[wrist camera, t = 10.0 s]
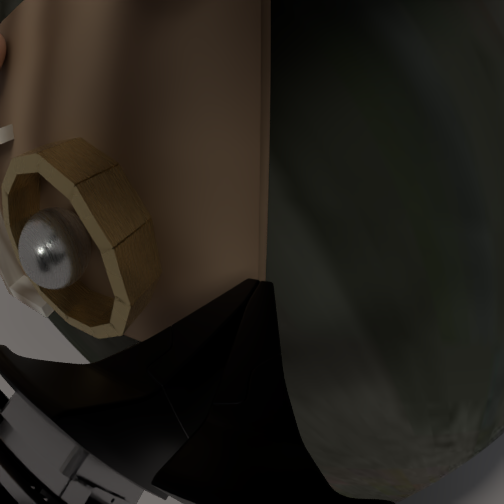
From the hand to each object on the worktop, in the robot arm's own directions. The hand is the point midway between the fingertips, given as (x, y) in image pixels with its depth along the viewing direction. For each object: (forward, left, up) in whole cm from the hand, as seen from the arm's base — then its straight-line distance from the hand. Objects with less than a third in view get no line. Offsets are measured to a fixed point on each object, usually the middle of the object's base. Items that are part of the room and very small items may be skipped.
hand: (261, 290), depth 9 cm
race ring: (+10, 0, -2) cm, 10 cm away
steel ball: (+10, 0, 0) cm, 10 cm away
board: (+12, -4, -3) cm, 13 cm away
